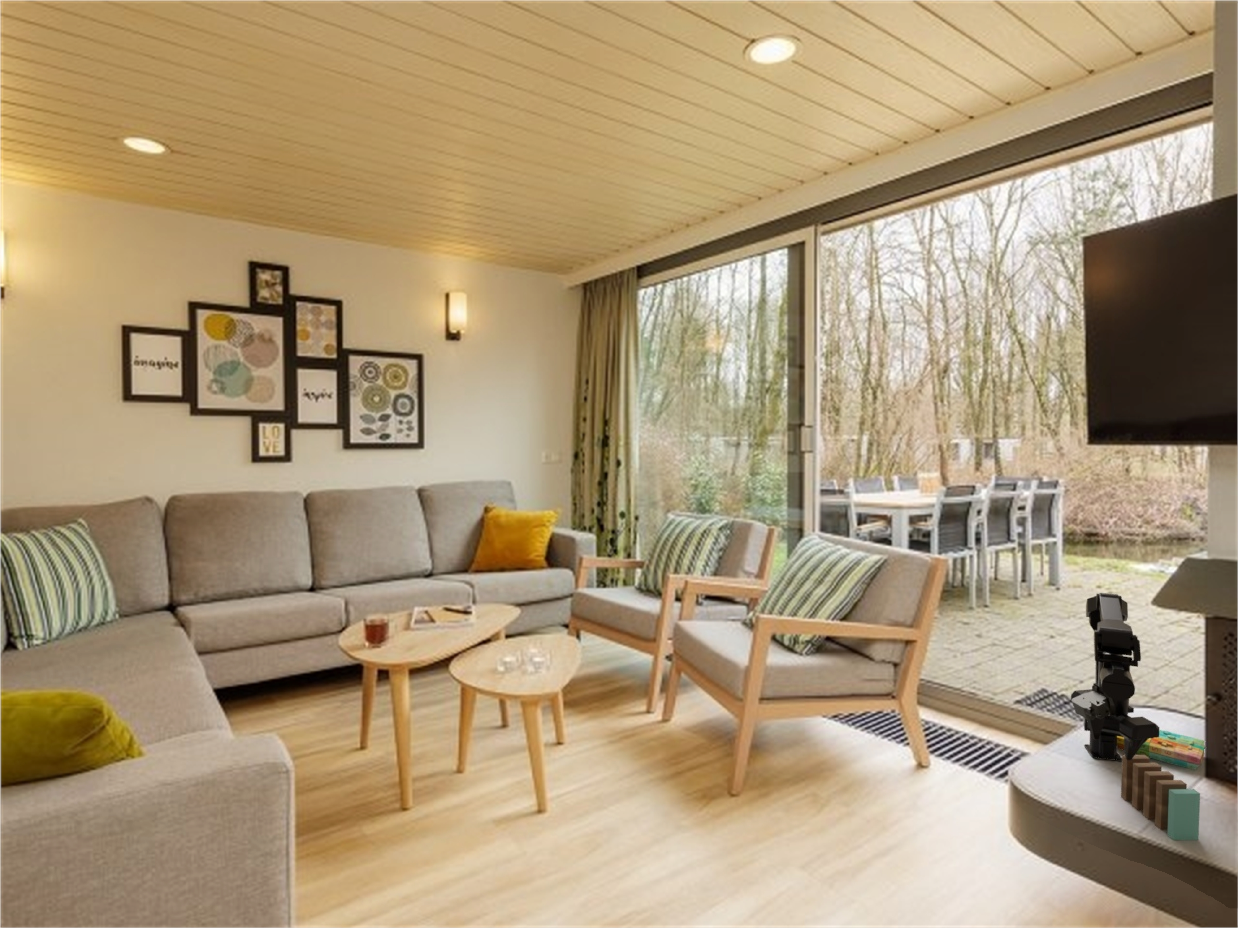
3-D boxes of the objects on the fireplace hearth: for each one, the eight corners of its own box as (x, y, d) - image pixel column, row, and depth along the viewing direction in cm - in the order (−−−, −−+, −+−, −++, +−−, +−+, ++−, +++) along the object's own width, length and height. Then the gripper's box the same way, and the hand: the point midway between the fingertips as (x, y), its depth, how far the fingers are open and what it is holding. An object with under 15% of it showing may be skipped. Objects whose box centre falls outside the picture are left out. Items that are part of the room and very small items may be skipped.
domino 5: (1167, 835, 144) (1169, 789, 143) (1192, 834, 143) (1193, 788, 143) (1173, 839, 142) (1174, 793, 141) (1198, 839, 142) (1200, 793, 141)
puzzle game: (1200, 756, 166) (1101, 729, 180) (1200, 774, 166) (1100, 747, 180) (1206, 738, 174) (1111, 714, 188) (1206, 756, 174) (1110, 731, 188)
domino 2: (1131, 805, 154) (1133, 762, 153) (1154, 805, 154) (1156, 762, 153) (1136, 810, 152) (1138, 766, 152) (1160, 809, 152) (1161, 766, 151)
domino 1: (1120, 797, 158) (1122, 755, 157) (1143, 796, 157) (1144, 754, 156) (1125, 801, 156) (1127, 758, 155) (1148, 800, 156) (1149, 758, 155)
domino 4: (1155, 824, 147) (1156, 780, 146) (1179, 824, 147) (1180, 779, 146) (1160, 829, 145) (1162, 784, 145) (1185, 829, 145) (1186, 783, 144)
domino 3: (1143, 815, 151) (1144, 771, 150) (1166, 814, 150) (1168, 770, 150) (1148, 819, 149) (1149, 775, 148) (1172, 819, 149) (1173, 774, 148)
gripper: (1050, 668, 163) (1048, 732, 164) (1113, 703, 144) (1111, 774, 146) (1094, 665, 164) (1092, 728, 165) (1162, 699, 145) (1160, 769, 147)
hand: (1111, 748), depth 156 cm, fingers open, 9 cm apart
